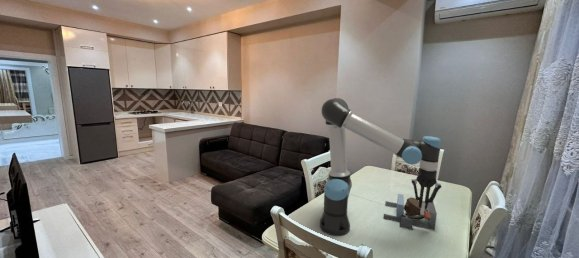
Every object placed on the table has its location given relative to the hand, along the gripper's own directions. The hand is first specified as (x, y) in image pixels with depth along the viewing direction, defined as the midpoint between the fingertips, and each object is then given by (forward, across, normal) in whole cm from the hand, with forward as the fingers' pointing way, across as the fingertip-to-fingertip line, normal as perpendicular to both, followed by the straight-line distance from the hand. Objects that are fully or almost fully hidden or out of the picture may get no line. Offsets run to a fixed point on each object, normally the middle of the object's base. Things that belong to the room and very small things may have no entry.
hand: (421, 213), depth 117 cm
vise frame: (+9, +5, -9) cm, 13 cm away
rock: (+9, +3, -11) cm, 14 cm away
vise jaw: (+8, +9, -11) cm, 17 cm away
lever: (+4, +6, 0) cm, 8 cm away
